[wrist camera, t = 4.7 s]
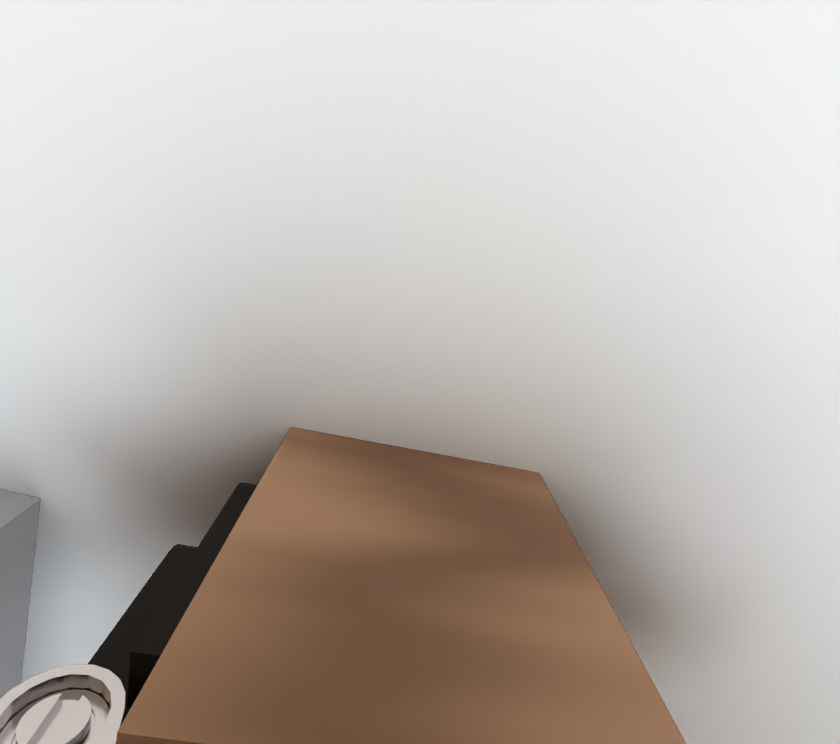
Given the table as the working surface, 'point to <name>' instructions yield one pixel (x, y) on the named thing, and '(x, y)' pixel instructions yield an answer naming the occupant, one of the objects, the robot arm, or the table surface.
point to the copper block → (398, 615)
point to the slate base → (15, 580)
